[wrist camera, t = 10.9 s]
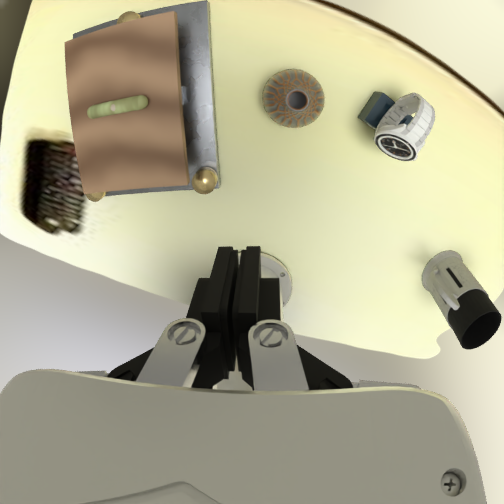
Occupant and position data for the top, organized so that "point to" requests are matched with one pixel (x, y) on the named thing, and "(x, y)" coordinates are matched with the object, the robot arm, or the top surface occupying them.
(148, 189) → the base
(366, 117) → the watch
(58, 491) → the robot arm
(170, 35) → the plate
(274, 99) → the vase
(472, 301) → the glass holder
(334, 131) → the top surface
